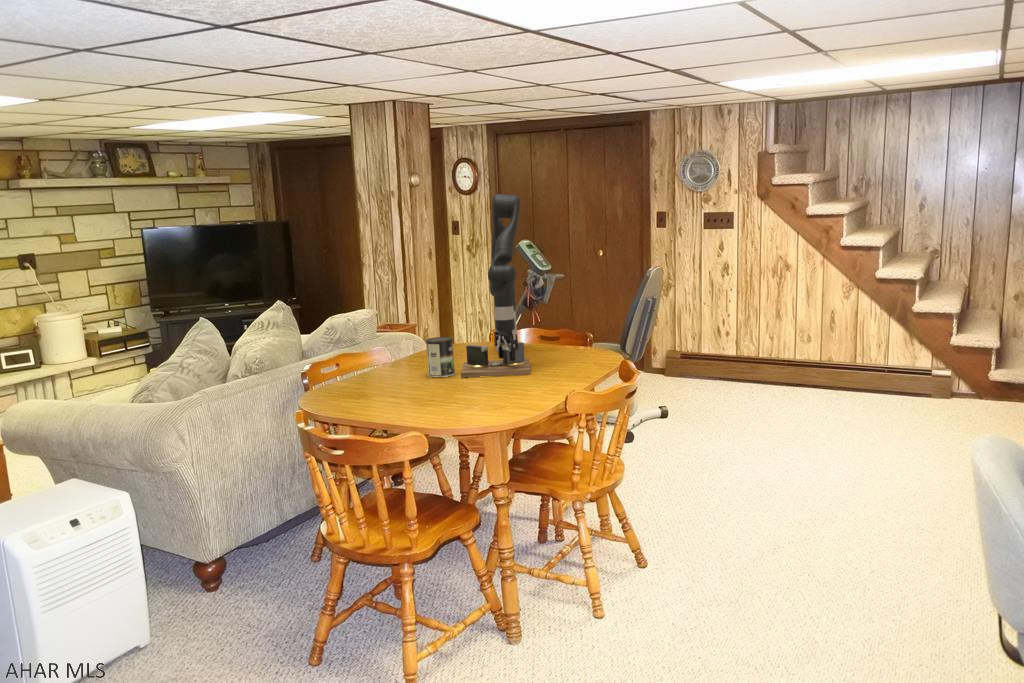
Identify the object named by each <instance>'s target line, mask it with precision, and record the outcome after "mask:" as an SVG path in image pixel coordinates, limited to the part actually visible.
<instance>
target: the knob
mask: <svg viewBox="0 0 1024 683" xmlns="http://www.w3.org/2000/svg"><path fill="white" fill-rule="evenodd" d="M510 347H511V346H510ZM515 347H516V345H515ZM502 351H503V358H502V360H503V364H504V366H508V367H515V366H522V365H524V361H525V359H526V358H525V343H524V342H521V341H518V350H516V351H515V361H510V359H509V352H510V351H509V349H508V347H506V345H502Z"/></svg>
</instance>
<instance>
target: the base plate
mask: <svg viewBox="0 0 1024 683" xmlns="http://www.w3.org/2000/svg"><path fill="white" fill-rule="evenodd" d="M488 364H489V365H488V367H485V368H478V369H472V368H468V364H467V361H464V362H463V365H462V367H461V370H460V371H461V372H460V378H461V379H465V378H464V377H478V378H481V377H480V376H496V377H502V376H501V375H515V376H526V375H525V374H531V365H530V364H531V362H530V358H525V361H524V365H522V366H515V367H508V366H504V364H503V359H493V360H492V359H490V360H489V359H488Z"/></svg>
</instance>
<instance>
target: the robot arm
mask: <svg viewBox="0 0 1024 683" xmlns="http://www.w3.org/2000/svg"><path fill="white" fill-rule="evenodd" d="M520 198H521V197H519V196H518V195H516V194H515V195H514V194H502V193H497V194H494V195H493V198H492V201H491V202H492V203H491V215H492V216H491V217H492V218H491V219H492V234H491V248H490V249H491V251H490V254H491V264H490V266H489V269H488V271H487V279H488V281H489V292H490V295H491V296H492V297H493V299H494V301H493V302H494V308H493V310H494V326H495V331H494V332H493V334H494V337H493V338H494V341H493V342H494V347H496V352H498V359H503V351H502V345H506V347H508V349H509V351H510V352H509V359H510V361H515V351H516V350H518V342H519V340H518V332H517V329H518V328H517V312H516V278H517V269H516V268H515V266H514V265H511V264H510V263H512V261H513V258H514V251H515V250H514V248H515V237H516V233H517V229H518V224H519V219H520V211H521V199H520ZM502 219H510V220H509V223H508V224H507V225H506V226H505V225H504V223H503V221H502ZM509 264H510V265H509ZM515 345H516V347H515ZM510 346H511V347H510Z"/></svg>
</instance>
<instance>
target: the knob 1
mask: <svg viewBox="0 0 1024 683" xmlns="http://www.w3.org/2000/svg"><path fill="white" fill-rule="evenodd" d="M465 350H466V362H467V364H468V368H472V369H478V368H485V367H488V365H489V364H488V361H489V352H488V351H489V347H488V345H485V346H484V345H476V344H468V345H465Z"/></svg>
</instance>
